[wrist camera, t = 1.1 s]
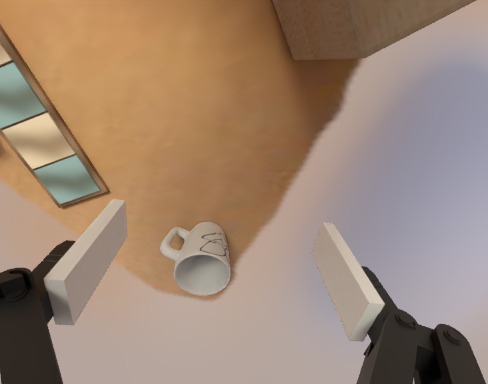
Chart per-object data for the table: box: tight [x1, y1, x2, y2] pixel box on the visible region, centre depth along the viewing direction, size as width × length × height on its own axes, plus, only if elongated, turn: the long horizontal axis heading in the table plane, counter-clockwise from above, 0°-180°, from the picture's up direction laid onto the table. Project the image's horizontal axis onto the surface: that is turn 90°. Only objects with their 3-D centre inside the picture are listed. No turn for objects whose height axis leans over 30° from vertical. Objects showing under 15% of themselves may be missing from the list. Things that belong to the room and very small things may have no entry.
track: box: [0, 25, 109, 208], centre depth 36 cm, size 27×9×1 cm, turn 19°
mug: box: [160, 222, 231, 295], centre depth 42 cm, size 11×8×10 cm
